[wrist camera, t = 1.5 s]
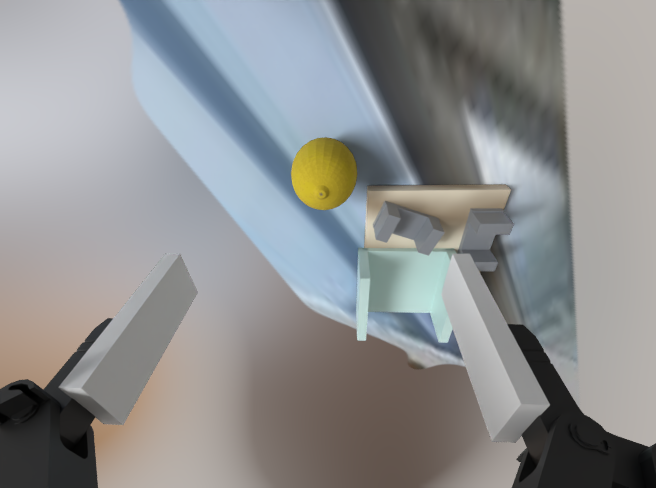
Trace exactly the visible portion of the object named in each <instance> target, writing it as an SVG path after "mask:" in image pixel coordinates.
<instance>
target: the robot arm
mask: <svg viewBox="0 0 656 488" xmlns="http://www.w3.org/2000/svg"><path fill="white" fill-rule="evenodd" d="M196 295H197V289H196V287H195V285H194V283H193V281H192V279H191V277H190V274H189V272H188V270H187V268H186V266H185V263H184V261H183V259H182V257H181V255H180V254H165V255H164V256H163V257H162V258H161V260H160V261H159V262H158V264H157V265H156V266H155V267H154V268H153V270H152V271H151V273H149V275H148V276H147V277H146V279H145V280H144V281H143V282H142V283H141V285H140V286H139V287H138V289H137V290H136V291H135V292H134V293H133V295H132V296H131V297H130V298H129V300H128V301H127V302H126V303H125V305H124V306H123V307H122V308H121V310H120V311H119V312H118V314H117V315H116V316H115V317H114V318H113V319H111V318H108V319H106V320H105V321H104V322H102V323H101V324H100V325H99V326H97V327H96V328H95V329H94V330H93V331H92V332H91V333H90V335H89V336H88V337H87V338H86V340H85V342H84V343H82V344H81V345H80V347H79V348H78V349H77V352H75V353H74V354H73V355H72V356H71V357H70V359H69V360H68V361H67V362H66V363H65V365H64V366H63V367H62V368H61V369H60V371H59V372H58V373H57V374H56V375H55V376H54V378H53V379H52V380H51V381H50V382H49V384H48V385H47V386H46V387H45V388H44V389H42V388H40V387H39V386H38V385H36V384H35V383H34V382H32V381H30V380H28V379H27V380H19V381H16V382H13V383H10V384H8V385H7V386H5V387H3V388H2V389H0V488H98V483H97V471H96V457H95V445H94V432H93V429H92V427H91V426H90V424H91V423H92V421H93V420H94V418H95V417H96V418H97V419H98V420H99V421H101V422H102V423H103V424H113V425H114V424H115V425H123V424H124V423H125V421H126V419H127V417H128V416H129V414H130V412H131V410H132V408H133V407H134V405H135V403H136V401H137V400H138V398H139V396H140V394H141V392H142V391H143V389H144V387H145V385H146V384H147V382H148V380H149V378H150V376H151V375H152V373H153V371H154V369H155V368H156V366H157V364H158V362H159V361H160V359H161V357H162V355H163V353H164V352H165V350H166V348H167V346H168V344H169V343H170V341H171V339H172V337H173V336H174V334H175V332H176V330H177V329H178V327H179V325H180V323H181V321H182V320H183V318H184V316H185V314H186V313H187V311H188V309H189V307H190V305H191V304H192V302H193V300H194V298H195V297H196ZM441 296H442V299H443V302H444V305H445V308H446V310H447V313H448V316H449V319H450V322H451V325H452V328H453V331H454V334H455V337H456V339H457V342H458V345H459V348H460V351H461V354H462V357H463V360H464V363H465V366H466V368H467V371H468V374H469V377H470V380H471V383H472V386H473V388H474V392H475V395H476V397H477V400H478V403H479V406H480V409H481V412H482V415H483V418H484V420H485V423H486V426H487V429H488V432H489V435H490V438H491V441H492V442H512V443H516V442H517V440H518V439H519V438H520V437H521V436H522V437H523V439H524V442H525V444H526V446H527V448H526V449H525V450H524V451H523V452H522V453H521V454H520V456H519V457H518V458H517V460H518V461H519V462H521V463H520V466H519V469H518V472H517V475H516V478H515V480H514V483H513V486H512V488H656V444H654V445H652V446H650V447H648V446H644V445H642V444H639V443H636V442H633V441H630V440H627V439H624V438H621V437H618V436H616V435H613V434H611V433H609V432H606V431H605V430H604V429H603V428H602V426H601V425H599V424H598V423H597V422H595V421H594V420H592V419H591V418H590V417H588V416H586V415H584V414H583V413H582V412H581V410H580V409H579V407H578V406H577V404H576V403H575V401H574V399H573V398H572V396H571V394H570V393H569V391H568V389H567V388H566V386H565V384H564V383H563V381H562V379H561V378H560V376H559V374H558V373H557V371H556V369H555V368H554V366H553V364H551V363H550V360H549V358H548V356H547V355H546V353H544V350H543V348H542V346H541V345H540V343H539V341H538V340H537V338H536V336H535V335H534V334H532V333H531V332H530V331H529V330H528V329H527V328H526V327H525V326H524V325H514V324H507V323H506V321H505V319H504V317H503V315H502V314H501V312H500V310H499V308H498V306H497V304H496V302H495V300H494V299H493V297H492V295H491V293H490V291H489V289H488V287H487V285H486V284H485V282H484V280H483V278H482V276H481V274H480V272H479V270H478V268H477V267H476V265H475V263H474V261H473V259H472V257H471V255H470V254H452V257H451V261H450V264H449V268H448V271H447V275H446V279H445V282H444V286H443V290H442V293H441Z"/></svg>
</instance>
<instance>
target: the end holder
mask: <svg viewBox="0 0 656 488" xmlns="http://www.w3.org/2000/svg"><path fill="white" fill-rule="evenodd" d="M452 254H457V253H456V251H455V249H454V248H434V249H433V250H432V252H431V253H430V255H429V256H428V255H425V254H422V253H418V251H417V248H358V271H357V299H356V317H357V340H366V330H367V316H368V312H412V313H430V314H431V318H432V321H433V324H434V328H435V331H436V334H437V338H438V341H439V342H446V343H448V340H449V337H450V334H451V332H452V329H453V328H452V325H451V322H450V319H449V316H448V313H447V310H446V308H445V305H444V302H443V299H442V296H441V293H442V290H443V286H444V282H445V279H446V275H447V271H448V268H449V264H450V261H451V257H452Z"/></svg>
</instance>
